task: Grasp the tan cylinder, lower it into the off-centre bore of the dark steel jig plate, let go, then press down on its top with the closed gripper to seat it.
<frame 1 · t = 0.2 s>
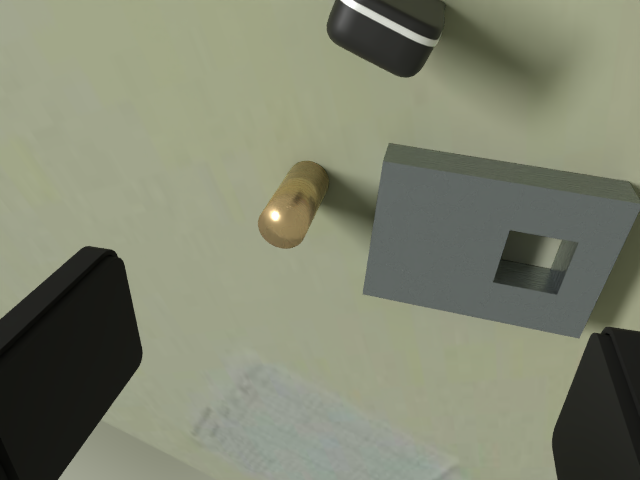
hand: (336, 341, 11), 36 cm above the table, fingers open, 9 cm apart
battery charger: (397, 7, 41), on the table
jig: (484, 230, 49), on the table
tan cylinder: (308, 180, 50), on the table
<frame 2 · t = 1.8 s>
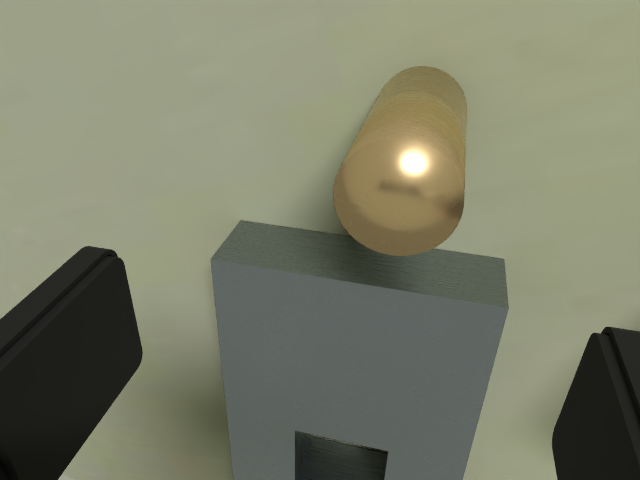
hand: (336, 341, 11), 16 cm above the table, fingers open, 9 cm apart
jig: (354, 375, 33), on the table
tan cylinder: (420, 112, 24), on the table
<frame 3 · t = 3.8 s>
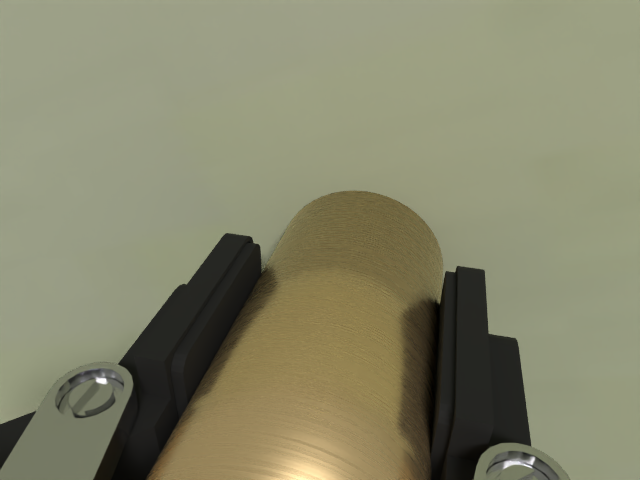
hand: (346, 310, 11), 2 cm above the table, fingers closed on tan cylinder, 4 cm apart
tan cylinder: (359, 264, 13), on the table, touching gripper
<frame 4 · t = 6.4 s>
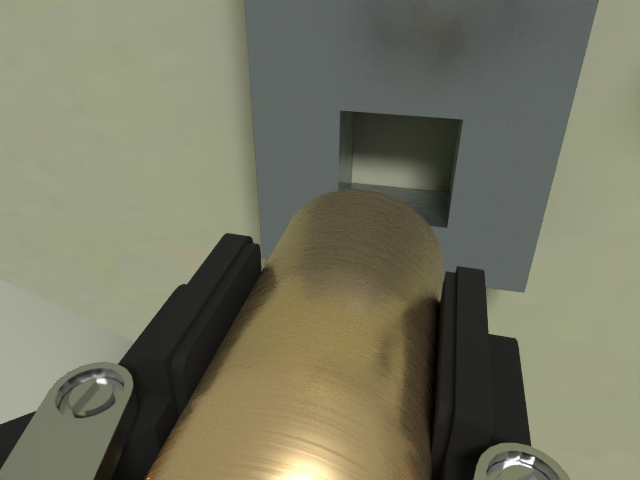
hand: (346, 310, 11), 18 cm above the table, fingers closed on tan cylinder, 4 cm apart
jig: (410, 65, 26), on the table
tan cylinder: (359, 262, 13), point 17 cm above the table, touching gripper
when the fingers open (5 cm above the table, at t = 9.5 s): tan cylinder drops 3 cm, resting in jig.
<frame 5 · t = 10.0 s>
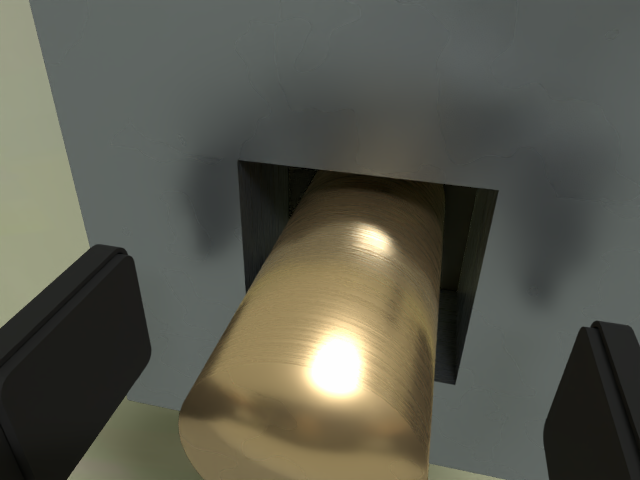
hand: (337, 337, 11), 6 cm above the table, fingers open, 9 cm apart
jig: (389, 67, 14), on the table
tan cylinder: (376, 202, 16), resting in jig
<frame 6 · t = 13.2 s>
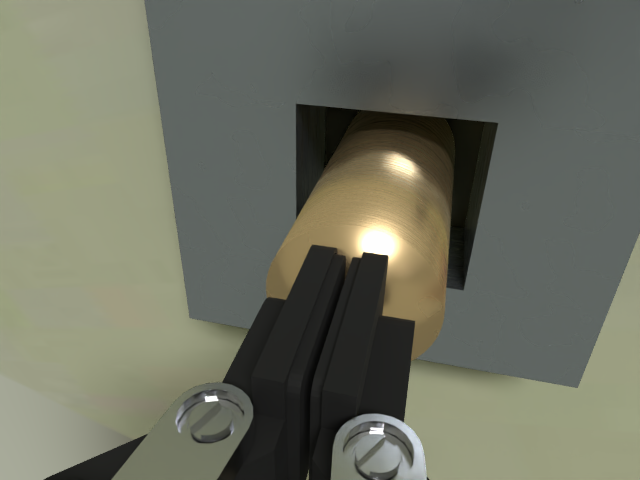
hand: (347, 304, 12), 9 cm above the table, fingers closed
jig: (411, 36, 17), on the table
tan cylinder: (398, 151, 19), resting in jig, touching gripper
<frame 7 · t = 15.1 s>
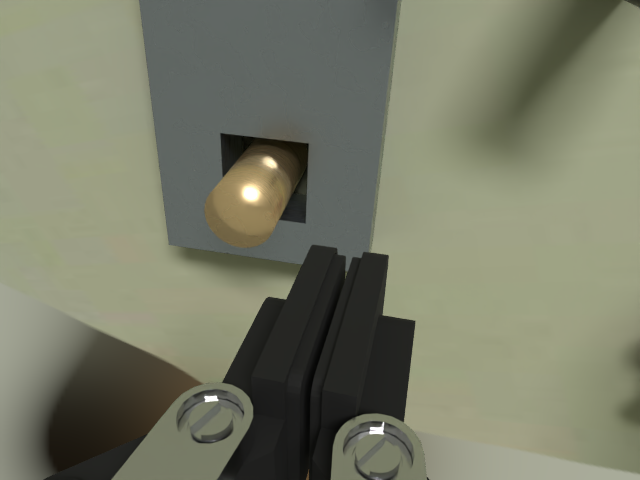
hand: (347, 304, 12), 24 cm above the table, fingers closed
jig: (280, 98, 34), on the table
tan cylinder: (279, 155, 36), resting in jig
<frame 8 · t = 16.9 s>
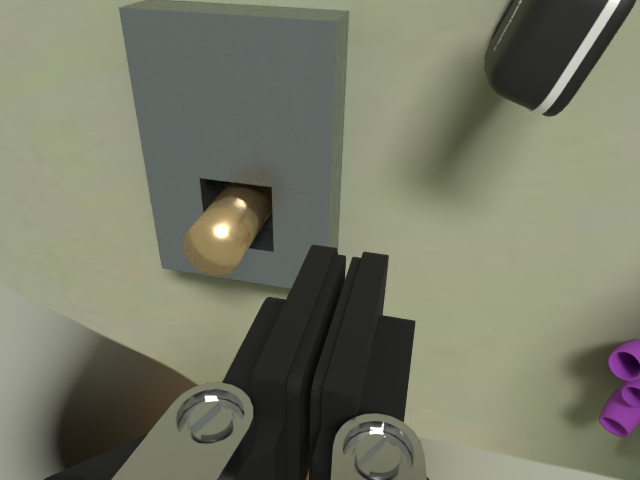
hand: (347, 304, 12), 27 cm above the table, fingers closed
battery charger: (530, 3, 32), on the table
jig: (252, 145, 41), on the table
tan cylinder: (254, 192, 43), resting in jig
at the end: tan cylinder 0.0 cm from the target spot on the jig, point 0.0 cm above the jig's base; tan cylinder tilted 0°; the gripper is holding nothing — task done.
